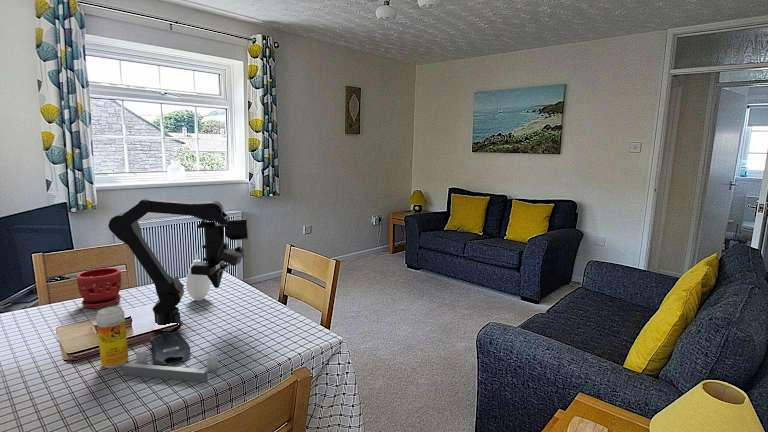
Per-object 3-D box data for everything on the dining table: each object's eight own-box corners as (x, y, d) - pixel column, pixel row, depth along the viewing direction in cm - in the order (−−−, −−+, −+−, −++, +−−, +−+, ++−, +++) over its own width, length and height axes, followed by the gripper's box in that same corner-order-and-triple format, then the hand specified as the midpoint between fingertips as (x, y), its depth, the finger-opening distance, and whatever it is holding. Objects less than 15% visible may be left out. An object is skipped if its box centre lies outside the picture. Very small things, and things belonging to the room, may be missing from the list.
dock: (122, 374, 104) (120, 362, 103) (141, 360, 111) (140, 348, 110) (205, 382, 102) (204, 369, 101) (219, 367, 108) (218, 355, 108)
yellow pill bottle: (108, 371, 105) (102, 316, 103) (97, 364, 108) (91, 311, 106) (133, 361, 110) (128, 309, 108) (121, 355, 114) (116, 303, 111)
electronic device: (146, 353, 118) (155, 369, 106) (147, 333, 118) (156, 347, 106) (182, 348, 124) (193, 362, 112) (183, 329, 124) (194, 342, 112)
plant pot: (130, 301, 151) (127, 270, 149) (90, 313, 140) (86, 280, 138) (113, 294, 158) (110, 264, 155) (73, 305, 147) (69, 273, 145)
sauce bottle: (203, 294, 159) (200, 249, 156) (214, 299, 155) (212, 253, 152) (183, 300, 153) (180, 253, 150) (195, 305, 148) (192, 257, 145)
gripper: (223, 249, 120) (226, 299, 123) (251, 235, 139) (253, 279, 141) (188, 247, 122) (191, 297, 124) (220, 234, 140) (222, 277, 143)
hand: (216, 287), depth 133 cm, fingers closed
